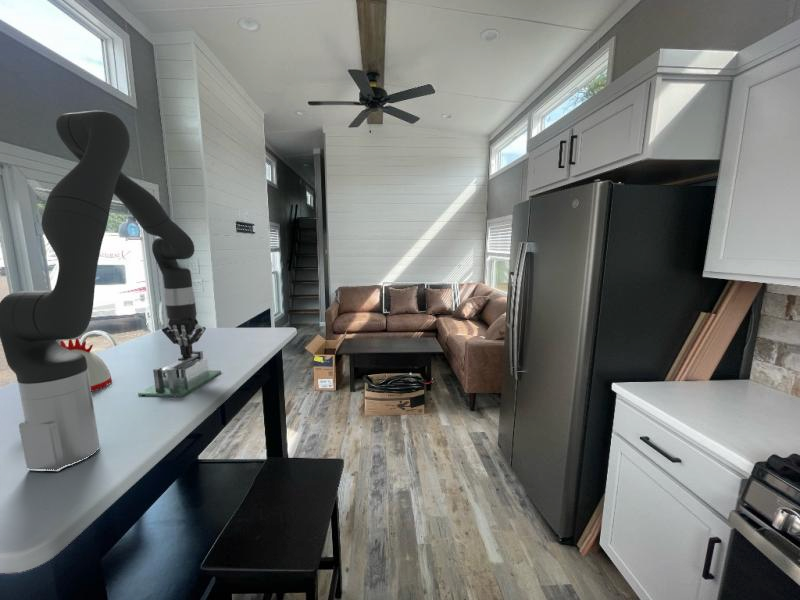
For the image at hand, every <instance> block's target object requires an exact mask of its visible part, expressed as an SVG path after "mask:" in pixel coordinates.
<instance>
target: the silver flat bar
mask: <svg viewBox="0 0 800 600" xmlns="http://www.w3.org/2000/svg"><path fill="white" fill-rule="evenodd" d="M196 357H198V354H192V355H191V356H189V357H183V356H180V357H179V358H177V360H176V361H174V362H173V363H171V364H169V365H167V366H164V367H165V368H164V367H162V368H163V369H160V370H159V373H168V371H167V370H168V369H170V368H178V367H180V366H182V365H183V364H185V363H187V362H189V361H191V360H192V359H194V358H196Z"/></svg>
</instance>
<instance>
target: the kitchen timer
mask: <svg viewBox="0 0 800 600" xmlns="http://www.w3.org/2000/svg"><path fill="white" fill-rule="evenodd" d="M59 341H60V342H59V344H60V345H61V346H62V347H64V348H66V349H69V350H71V351H74V352H78V353H81V354H83V355H84V356H85V358H86V361H87V367H88V373H89V379H90V386H91V391H92V392H94V391H93V390H95V391H97V390H96V389H98V390H100V389H99V388H101V387H103V388H105V387H107V386H108V385H107V384H109V383H110V382H111V381H112V375H111V372H110V370H109V368H108V366H107V365H106V363H105V362H104V360H103V359H102V358H101V357H100V356H99V355H97V354H96V353H94V352H92V351H91V350H92V348H93V346H94V345H93V343H92V344H91V345H89V347H88V348H86V344H87V342H86V341H83V342H82V344H81V342H80V340H79V338H78V337H76V338H75V340H74V342H73V340H72V339H68V346H67V345H66V343H65V341H64V339H63V340H59ZM111 383H112V382H111ZM111 383H110V384H111ZM110 384H109V385H110ZM106 385H107V386H106ZM104 386H105V387H104ZM101 389H102V388H101Z"/></svg>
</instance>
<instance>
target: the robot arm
mask: <svg viewBox="0 0 800 600" xmlns="http://www.w3.org/2000/svg"><path fill="white" fill-rule="evenodd" d="M55 128H56V132H57V135H58V137H59V138H60V140H61V141H62V142H63V144H64V145H65V147H66V148H67V150H69V151H70V152H71V153H72V154H73V155H74V157H76V158H77V160H79V162H78V163H77V164H76V165H75V166H74V167H73V168H72V169H71V170H70V171H69V172H68V173H67V174H65V175H64V176H63V177H62V178H61V180H60V181H58V182H57V184H56V185H55V186H54V187H53V188H52V189H51V190H50V193H49V194H48V197H47V200H46V202H45V206H44V208H43V213H42V216H41V224H40V225H41V229H42V232H43V234H44V236H45V239H46V240H47V241H48V243H49V246H50V247H51V248H52V250H53V252H54V254H55V256H56V258H57V262H58V273H57V276H56V277H57V279H56V283H55V284H54V285H55V286H54V288H53V289H51V290H50V289H49V290H48V289H47V290H23V291H22V290H21V291H20V290H19V291H15V292H11V293H9V294H7V295H6V296H4V297H3V298H2V299H1V301H0V343H1V346H2V349H3V352H4V356H5V359H6V363H7V366H8V367H9V368H10V369H11V371H12V372H13V373H14V374H15V378H16V380H17V384H18V385H17V386H18V389H19V396H20V402H21V407H22V411H23V417H24V421H21V422H20V423H19V424H18V428H19V434H20V439H21V443H22V449H23V454H24V459H25V464H26V469H27V468H29V469H46V470H47V469H48V470H49V469H50V470H51V469H52V470H53V469H54V470H57V469H59V468H61V467H63V466H65V465H68V464H72V463H74V462H77V461H79V460H82V459H84V458H86V457H88V456H90V455H91V454H93V453H94V452H95V451H97V449H98V448H99V446H100V439H99V432H98V425H97V420H96V413H95V406H94V400H93V393H92V392H91V386H90V379H89V373H88V367H87V361H86V358H85V356H84V355H83V354H81V353H78V352H74V351H71V350H69V349H66V348H64V347H62V346H61V344H60V343H59V342H58V341H62V340H63V341H64V340H70V339H71V340H72V339H77V338H78V337H80V336H81V335H83V334H84V333H85V332H86V330H87V329H88V328H89V325H90V323H91V319H92V315H93V309H94V301H95V300H94V299H95V288H96V279H97V278H96V276H97V269H98V263H99V259H100V254H101V248H102V246H103V245H102V244H103V239H104V237H105V233H106V230H107V225H108V221H109V217H110V211H111V205H112V202H113V198H114V195H115V196H116V197H117V199H118V200H120V202H121V203H122V204H123V205H124V207H126V209H127V210H128V211H129V213H130V214H131V215H132V217H133V218H134V219H135V220H136V222H137V223H138V225H139V226H140V227H141V228H142V230H143V231H144V232H146V233H147V235H150V236H155V238H154V239H153V241H152V244H151V250H152V254H153V257H154V259H155V261H156V263H157V266H158V268H159V270H160V272H161V274H162V279H163V286H164V302H165V310H166V317H167V319H168V325H167V326H165V327H163V328H162V329H161V332H162V333H163V334H164V335H165V336H166V338H167V339H169V340H170V342H172V343H173V344H174V345H175V344H176V345H178V347H179V349H180V355H181V357H189V356H191V355H192V353H193V351H194V350H193V344H195V343H198V342H199V341H200V339H201V337H202V336H203V335H204V333H205V331H206V326H202V325H200V324H199V322H198V320H197V307H196V306H197V305H196V297H195V292H194V289H193V288H194V287H193V281H192V273H191V270H190V269H188V268H187V267H183V266H181V265H180V264H179V263H178V261H177V260H188V259H190V258H192V257H193V256H194V255H195V254H194V253H195V245H194V241H193V240H192V238H191V237H190V236H189V235H188V234H187V233H186V232H185V231H184V230H183V229H182V228H181V227H180V226H179V225H178V224H176V223H175V222H174V221H173V220H172V219H171V218H170V217H169V215H168V214H167V212H166V210H165V209H164V208H163V206H162V204H161V203H160V202H159V200H158V199H157V198H156V197H155V196H154V195H153V194H152V193H150V191H148V190H147V189H145V188H144V187H143V186H141V185H140V184H138V183H137V182H136V181H134V180H133V179H131V178H130V177H128V176H127V175H126V174H125V173H123V172H122V169H123V166H124V164H125V162H126V159H127V157H128V154H129V150H130V145H131V143H130V142H131V141H130V139H131V138H130V134H129V131H128V128H127V125H126V124H125V123H124V121H123V120H122V119H121V118H120V117H119V116H117V115H116V114H114V113H112V112H110V111H105V110H88V111H87V110H86V111H77V112H68V113H64V114H61V115H58V117H57V119H56V121H55ZM100 447H101V446H100ZM99 449H100V448H99ZM97 452H98V451H97Z"/></svg>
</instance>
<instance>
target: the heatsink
mask: <svg viewBox="0 0 800 600" xmlns="http://www.w3.org/2000/svg"><path fill="white" fill-rule="evenodd" d="M203 352H204V351H203V350H193V353H192V354H198V357H196V358H194V359H192V360H191V361H189V362H187V363H185V364H183V365H182V366H180V367H178V368H170V369H168V370H167V371H168V373H159V370H160V369H163V368H165V367H166V366H164V367H156V368H153V370H152V372H153V381H154V384H153V385H152V386H150V387H148V388H146V389H143V390H142V391H140V392H137V393H138V395H137V396H138V397H143V396H142V395H145V396H144V397H165V396H176V397H175V398H183V397H186V395H188V394H190V393H191V392H193V391H195V390H196V389H197V388H200V387H201V386H202V385H204V384H206V383H207V382H209V381H211V380H212V379H214V378H216V377H217V376H218V375H220V374H222V370H214V369H213V370H210V369H209V365H208V358H204V353H203Z"/></svg>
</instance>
